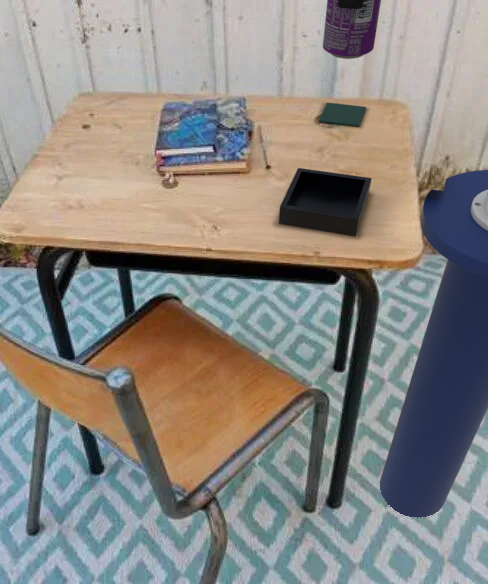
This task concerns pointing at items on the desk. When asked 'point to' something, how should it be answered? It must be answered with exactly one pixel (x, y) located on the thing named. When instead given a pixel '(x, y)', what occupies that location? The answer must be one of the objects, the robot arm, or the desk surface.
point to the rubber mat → (342, 114)
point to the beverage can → (350, 29)
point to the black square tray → (325, 201)
